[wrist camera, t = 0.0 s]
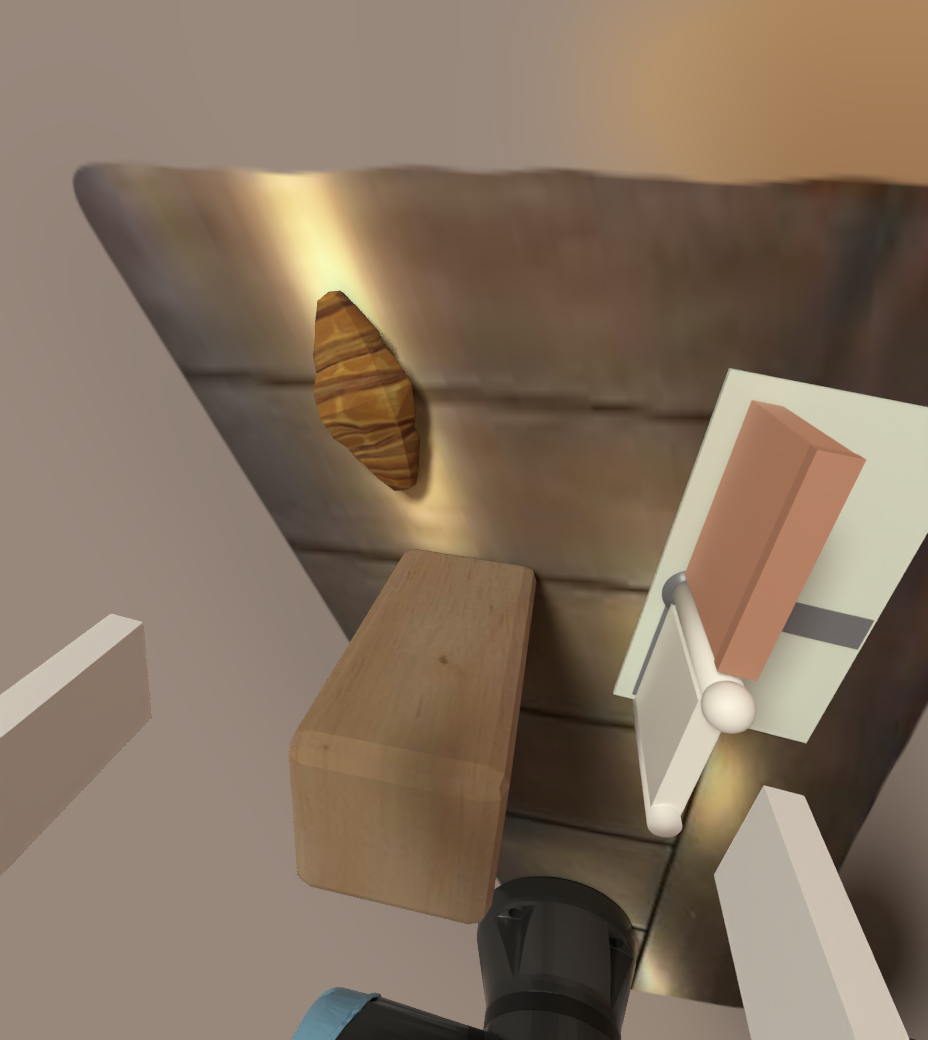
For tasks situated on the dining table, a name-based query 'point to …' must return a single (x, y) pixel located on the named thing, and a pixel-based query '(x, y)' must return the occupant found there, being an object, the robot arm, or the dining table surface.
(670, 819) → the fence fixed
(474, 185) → the dining table surface
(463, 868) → the wooden block
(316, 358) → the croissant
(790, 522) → the terracotta rectangular slab
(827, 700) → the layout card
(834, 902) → the robot arm
